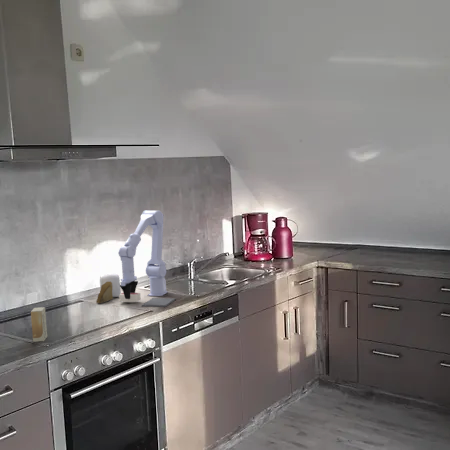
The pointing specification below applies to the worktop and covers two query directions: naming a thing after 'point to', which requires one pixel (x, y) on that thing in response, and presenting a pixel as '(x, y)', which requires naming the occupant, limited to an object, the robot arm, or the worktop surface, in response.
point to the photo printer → (115, 283)
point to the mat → (158, 302)
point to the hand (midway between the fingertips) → (130, 297)
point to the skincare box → (39, 324)
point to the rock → (105, 293)
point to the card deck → (130, 297)
